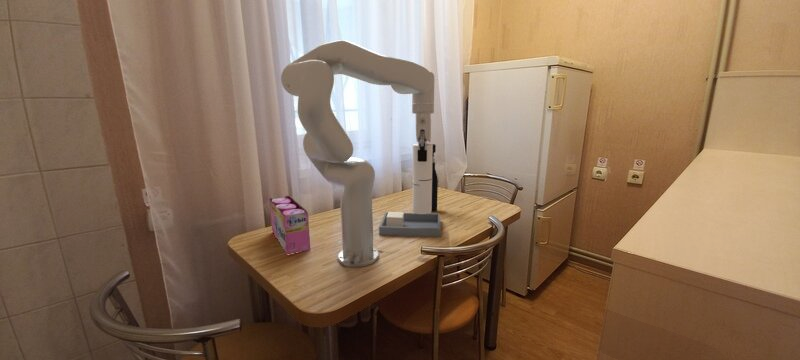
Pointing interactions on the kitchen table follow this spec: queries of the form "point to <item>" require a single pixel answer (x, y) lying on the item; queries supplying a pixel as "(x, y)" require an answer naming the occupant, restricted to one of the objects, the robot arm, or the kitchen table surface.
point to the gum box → (290, 224)
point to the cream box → (395, 219)
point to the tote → (414, 226)
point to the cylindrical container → (422, 181)
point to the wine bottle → (434, 183)
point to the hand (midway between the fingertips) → (422, 159)
